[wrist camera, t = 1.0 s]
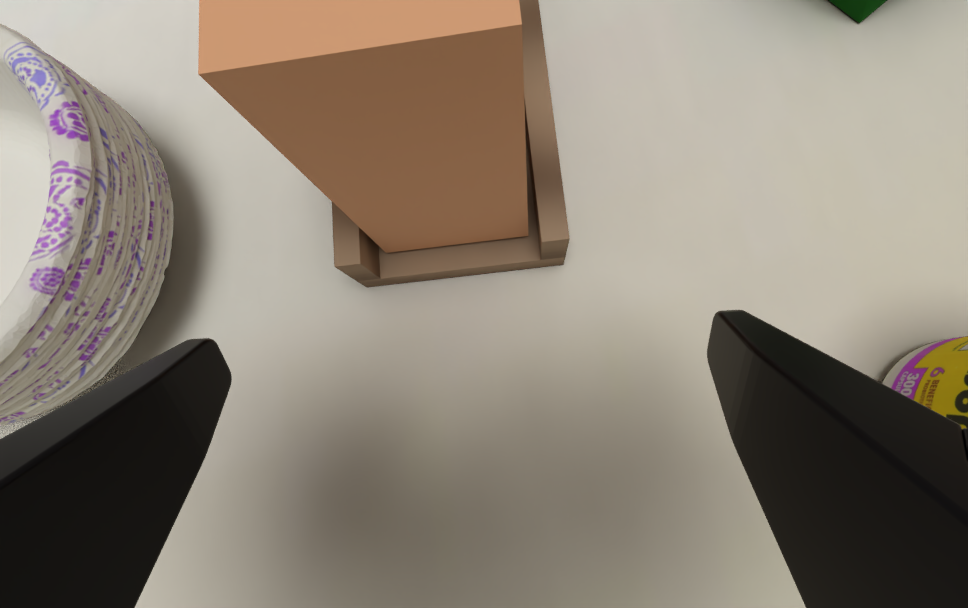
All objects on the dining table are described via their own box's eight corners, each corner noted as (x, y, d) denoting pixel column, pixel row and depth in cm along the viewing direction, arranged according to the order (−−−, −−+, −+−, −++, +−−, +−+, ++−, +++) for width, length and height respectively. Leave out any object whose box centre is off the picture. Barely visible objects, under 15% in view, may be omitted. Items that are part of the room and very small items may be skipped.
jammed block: (528, 235, 20) (522, 24, 9) (386, 253, 21) (198, 74, 9) (513, 103, 22) (489, -242, 10) (378, 123, 22) (202, -185, 10)
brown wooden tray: (563, 264, 22) (569, 238, 18) (366, 287, 22) (334, 266, 19) (520, -73, 25) (518, -153, 21) (349, -45, 26) (319, -116, 22)
